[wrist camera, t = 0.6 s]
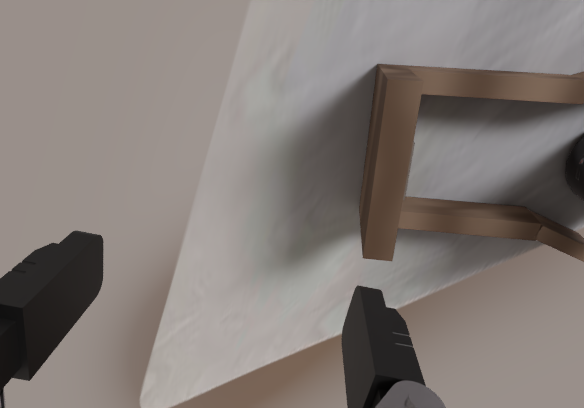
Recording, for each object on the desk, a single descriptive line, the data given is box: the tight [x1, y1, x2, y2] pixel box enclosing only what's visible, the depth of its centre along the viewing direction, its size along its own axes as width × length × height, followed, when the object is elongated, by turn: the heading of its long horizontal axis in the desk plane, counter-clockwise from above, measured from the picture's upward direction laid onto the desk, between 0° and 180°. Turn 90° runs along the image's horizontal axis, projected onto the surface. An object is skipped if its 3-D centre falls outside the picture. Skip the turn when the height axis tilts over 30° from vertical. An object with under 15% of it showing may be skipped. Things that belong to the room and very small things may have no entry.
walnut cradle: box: [359, 64, 584, 262], centre depth 28 cm, size 18×15×8 cm
